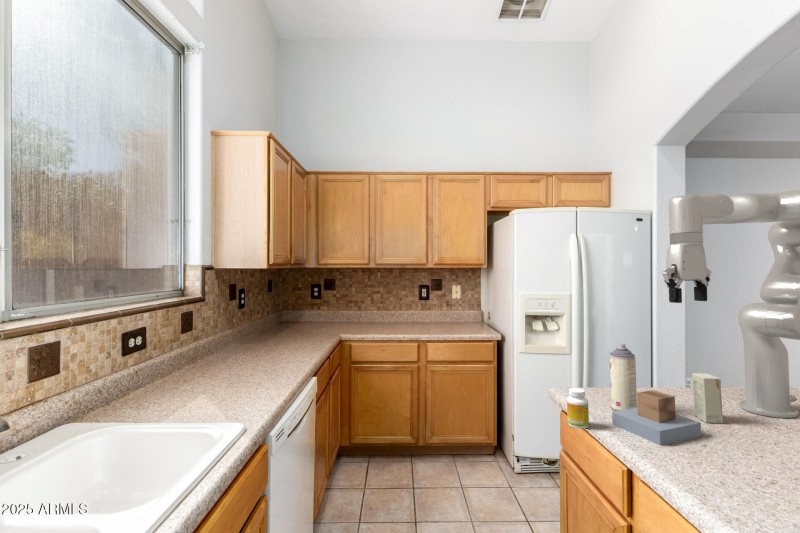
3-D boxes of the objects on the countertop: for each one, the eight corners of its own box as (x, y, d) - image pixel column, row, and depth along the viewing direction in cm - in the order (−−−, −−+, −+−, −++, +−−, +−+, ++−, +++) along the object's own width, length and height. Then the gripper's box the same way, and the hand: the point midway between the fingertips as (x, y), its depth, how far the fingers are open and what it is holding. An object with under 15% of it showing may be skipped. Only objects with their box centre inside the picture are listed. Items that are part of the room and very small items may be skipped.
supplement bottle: (588, 430, 104) (587, 394, 105) (566, 427, 107) (565, 391, 107) (589, 423, 109) (588, 388, 109) (568, 420, 112) (567, 386, 112)
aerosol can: (618, 404, 123) (616, 341, 124) (641, 410, 118) (639, 344, 118) (606, 409, 120) (604, 343, 120) (630, 415, 114) (627, 347, 114)
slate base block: (650, 419, 112) (650, 405, 113) (701, 438, 99) (700, 422, 99) (612, 426, 108) (612, 411, 108) (660, 447, 95) (659, 431, 95)
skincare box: (723, 424, 106) (722, 379, 106) (705, 423, 107) (704, 378, 107) (710, 415, 113) (708, 372, 113) (693, 414, 114) (691, 372, 114)
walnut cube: (653, 411, 107) (653, 389, 107) (675, 419, 102) (674, 396, 102) (637, 415, 105) (636, 392, 105) (659, 423, 100) (658, 399, 100)
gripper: (694, 241, 115) (696, 299, 115) (650, 241, 110) (652, 302, 109) (722, 239, 108) (724, 301, 108) (676, 239, 102) (679, 304, 102)
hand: (688, 301), depth 108 cm, fingers open, 9 cm apart
